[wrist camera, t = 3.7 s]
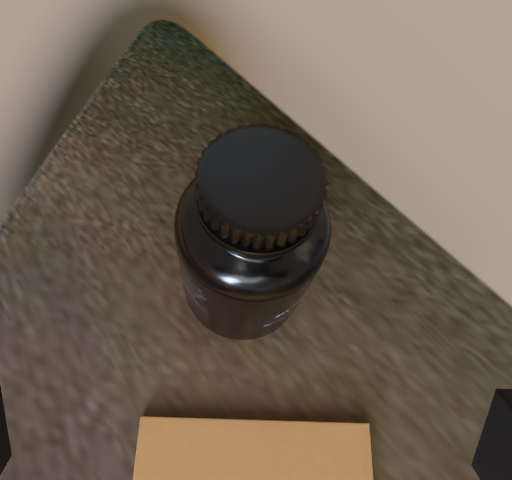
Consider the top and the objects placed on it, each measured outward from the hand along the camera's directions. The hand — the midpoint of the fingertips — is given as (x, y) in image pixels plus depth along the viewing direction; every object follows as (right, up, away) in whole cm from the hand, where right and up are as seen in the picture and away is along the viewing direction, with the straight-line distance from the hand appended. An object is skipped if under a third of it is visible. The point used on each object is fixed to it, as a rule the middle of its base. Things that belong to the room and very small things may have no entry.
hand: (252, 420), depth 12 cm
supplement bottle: (-1, +2, +15) cm, 15 cm away
